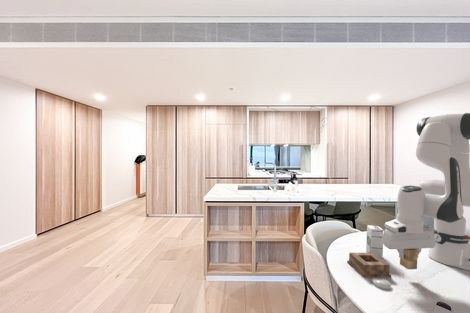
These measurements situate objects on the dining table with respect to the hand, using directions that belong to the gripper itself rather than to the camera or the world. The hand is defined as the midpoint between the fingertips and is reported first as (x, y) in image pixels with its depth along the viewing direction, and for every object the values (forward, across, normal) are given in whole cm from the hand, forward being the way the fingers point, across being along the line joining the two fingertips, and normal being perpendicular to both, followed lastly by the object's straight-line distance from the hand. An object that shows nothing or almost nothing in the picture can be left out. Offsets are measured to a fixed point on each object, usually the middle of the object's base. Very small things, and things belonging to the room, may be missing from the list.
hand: (408, 257), depth 92 cm
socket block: (+8, +13, -6) cm, 17 cm away
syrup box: (+9, +1, -19) cm, 21 cm away
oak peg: (+4, 0, 0) cm, 4 cm away
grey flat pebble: (+8, +15, +5) cm, 18 cm away
